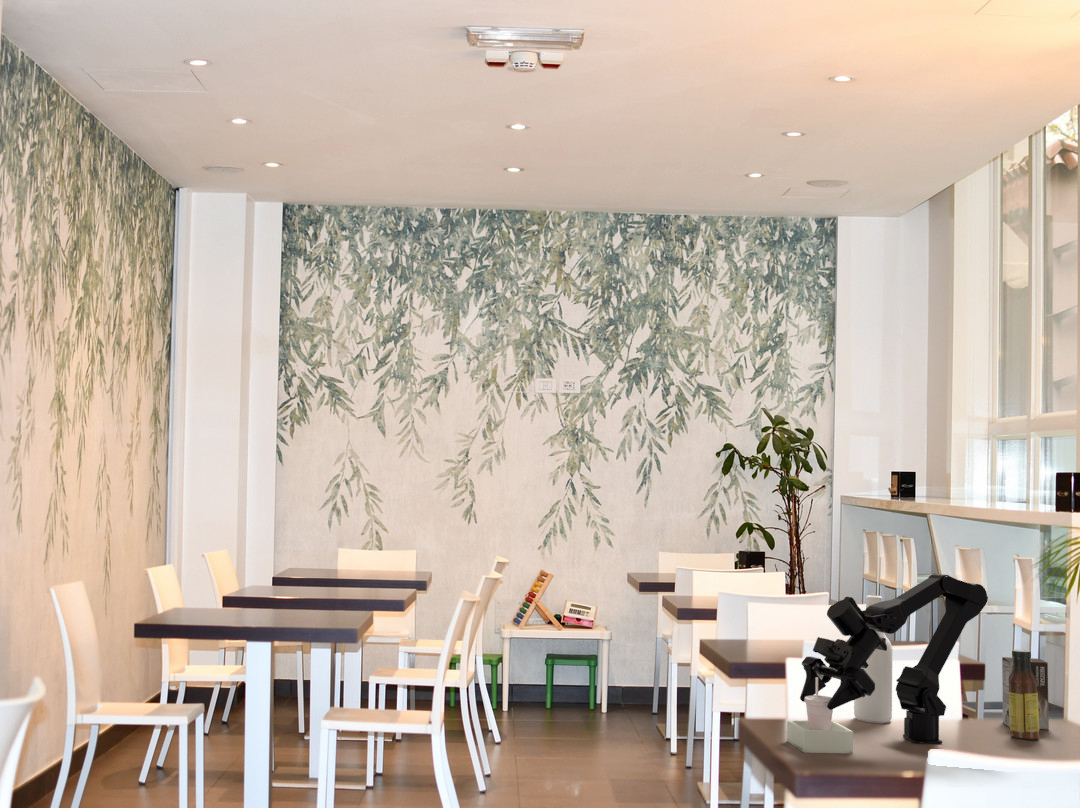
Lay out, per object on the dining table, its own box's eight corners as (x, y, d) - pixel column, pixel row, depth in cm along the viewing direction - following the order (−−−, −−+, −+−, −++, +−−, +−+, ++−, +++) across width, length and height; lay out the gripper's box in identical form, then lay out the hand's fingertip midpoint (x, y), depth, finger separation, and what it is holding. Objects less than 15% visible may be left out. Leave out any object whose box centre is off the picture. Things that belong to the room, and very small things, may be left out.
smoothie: (805, 739, 233) (805, 674, 234) (836, 742, 231) (836, 676, 232) (802, 746, 227) (802, 679, 228) (834, 749, 225) (833, 681, 226)
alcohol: (897, 724, 258) (899, 598, 260) (862, 723, 257) (864, 597, 260) (882, 716, 266) (883, 594, 269) (848, 716, 266) (850, 593, 268)
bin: (833, 741, 235) (833, 721, 236) (852, 753, 225) (853, 731, 225) (786, 741, 234) (787, 720, 234) (804, 752, 224) (804, 730, 224)
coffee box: (1039, 724, 264) (1039, 658, 266) (1049, 730, 258) (1049, 662, 259) (1001, 722, 265) (1001, 656, 267) (1010, 727, 259) (1010, 659, 260)
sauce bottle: (1039, 736, 249) (1039, 650, 251) (1039, 742, 244) (1039, 653, 245) (1008, 733, 252) (1008, 647, 254) (1008, 738, 246) (1008, 650, 248)
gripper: (809, 619, 242) (767, 670, 236) (864, 630, 225) (821, 685, 219) (837, 654, 244) (796, 705, 239) (894, 667, 227) (851, 723, 222)
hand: (814, 704), depth 230 cm, fingers open, 9 cm apart
